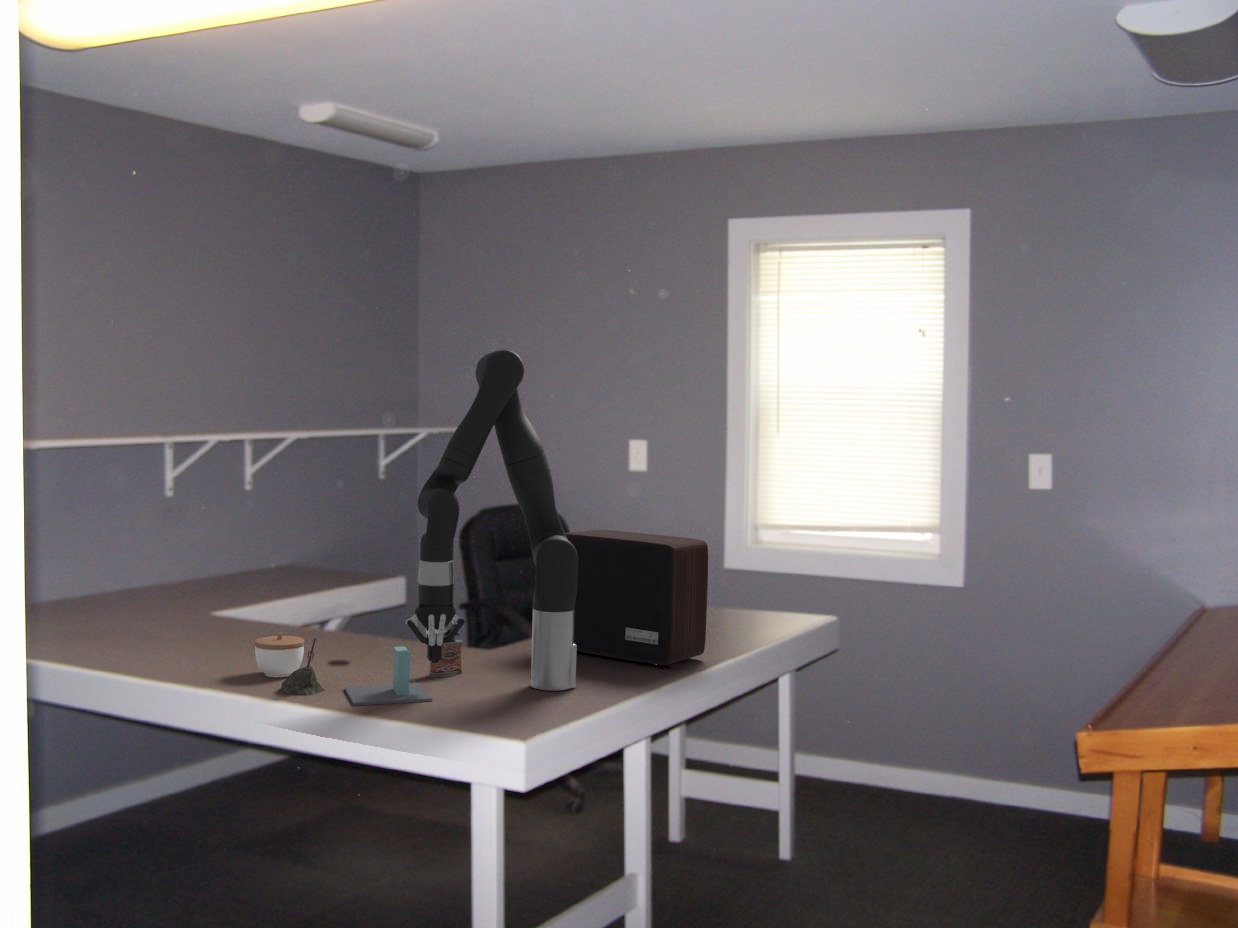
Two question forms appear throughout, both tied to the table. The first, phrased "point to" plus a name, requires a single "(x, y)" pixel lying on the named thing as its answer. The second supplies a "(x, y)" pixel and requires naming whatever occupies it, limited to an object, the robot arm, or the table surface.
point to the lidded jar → (279, 654)
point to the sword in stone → (302, 680)
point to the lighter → (448, 659)
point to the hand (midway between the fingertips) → (434, 662)
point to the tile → (401, 670)
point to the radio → (640, 596)
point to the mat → (385, 695)
